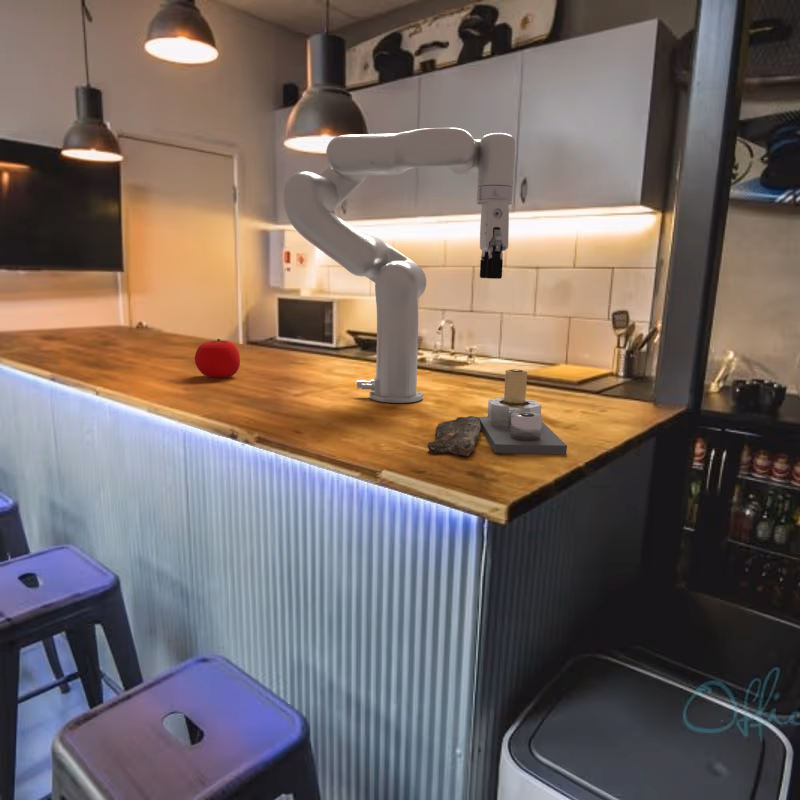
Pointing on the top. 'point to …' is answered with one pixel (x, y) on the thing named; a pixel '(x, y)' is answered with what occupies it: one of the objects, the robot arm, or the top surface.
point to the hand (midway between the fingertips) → (490, 278)
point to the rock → (456, 436)
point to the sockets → (517, 418)
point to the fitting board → (506, 444)
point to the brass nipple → (515, 387)
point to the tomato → (217, 359)
